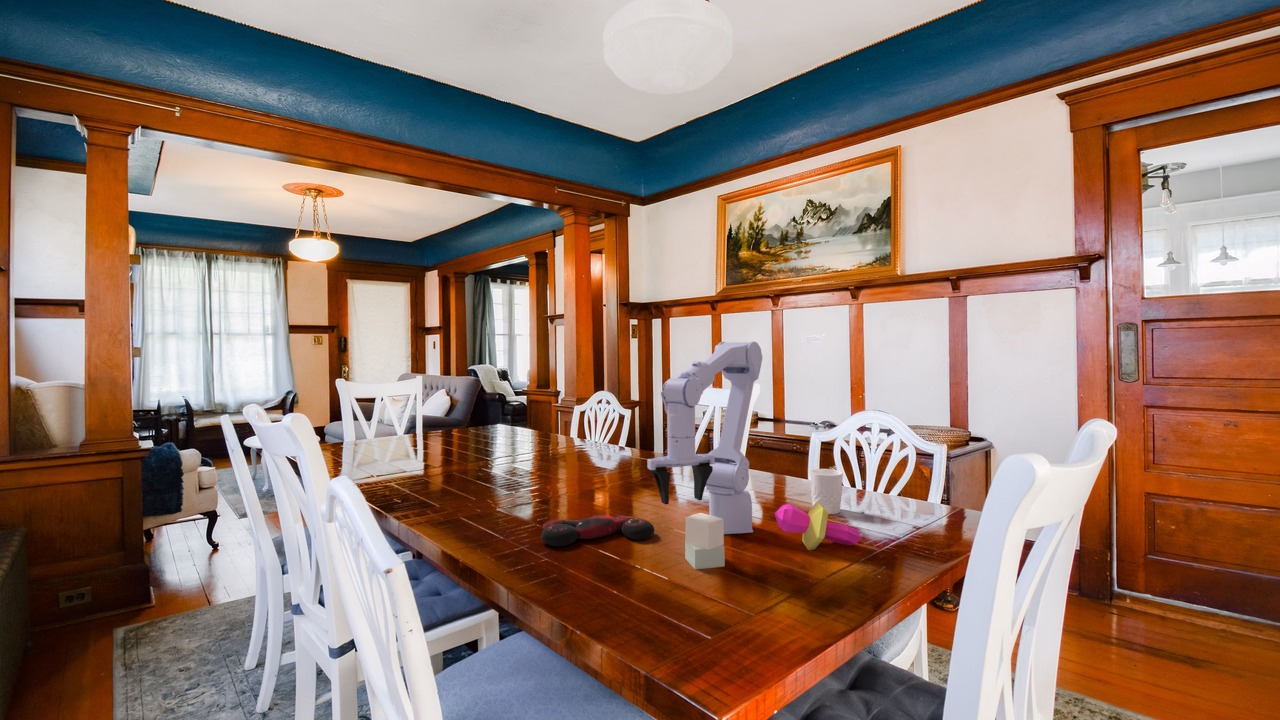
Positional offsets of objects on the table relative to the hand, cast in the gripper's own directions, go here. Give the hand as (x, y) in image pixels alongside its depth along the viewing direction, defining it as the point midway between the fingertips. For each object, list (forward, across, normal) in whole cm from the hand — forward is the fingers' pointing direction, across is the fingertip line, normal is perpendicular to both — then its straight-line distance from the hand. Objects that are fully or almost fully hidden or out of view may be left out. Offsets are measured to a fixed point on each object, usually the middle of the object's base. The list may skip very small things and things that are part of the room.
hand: (681, 501), depth 121 cm
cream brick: (+7, -1, +8) cm, 10 cm away
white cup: (+11, -47, -12) cm, 49 cm away
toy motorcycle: (+11, +13, -18) cm, 24 cm away
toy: (+11, -27, +9) cm, 30 cm away
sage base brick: (+11, -1, +8) cm, 13 cm away
